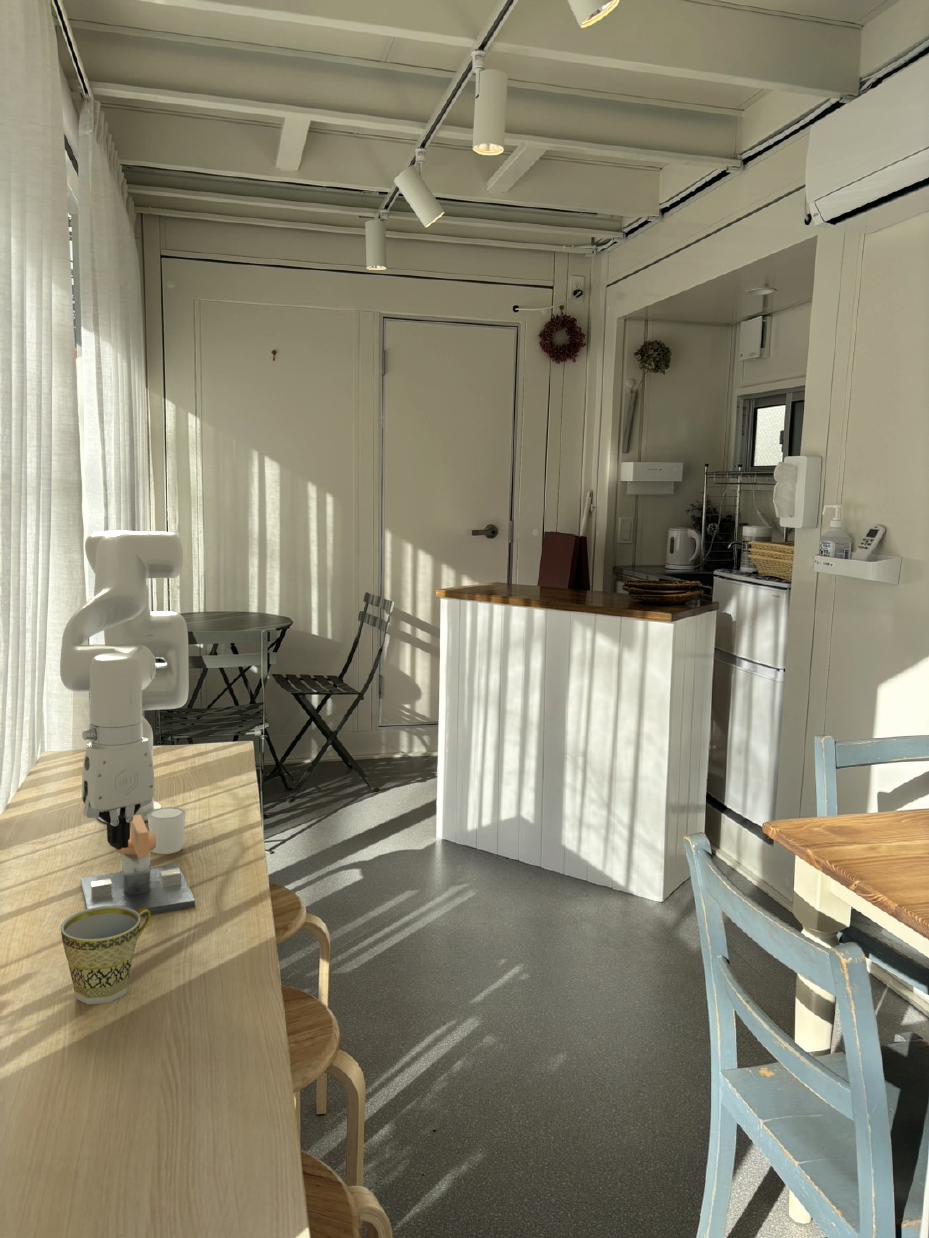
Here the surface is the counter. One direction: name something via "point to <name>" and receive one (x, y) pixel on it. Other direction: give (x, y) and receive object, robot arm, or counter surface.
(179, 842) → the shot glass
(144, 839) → the orange lever handle
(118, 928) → the ceramic cup
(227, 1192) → the counter surface
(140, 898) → the grey plate with posts
